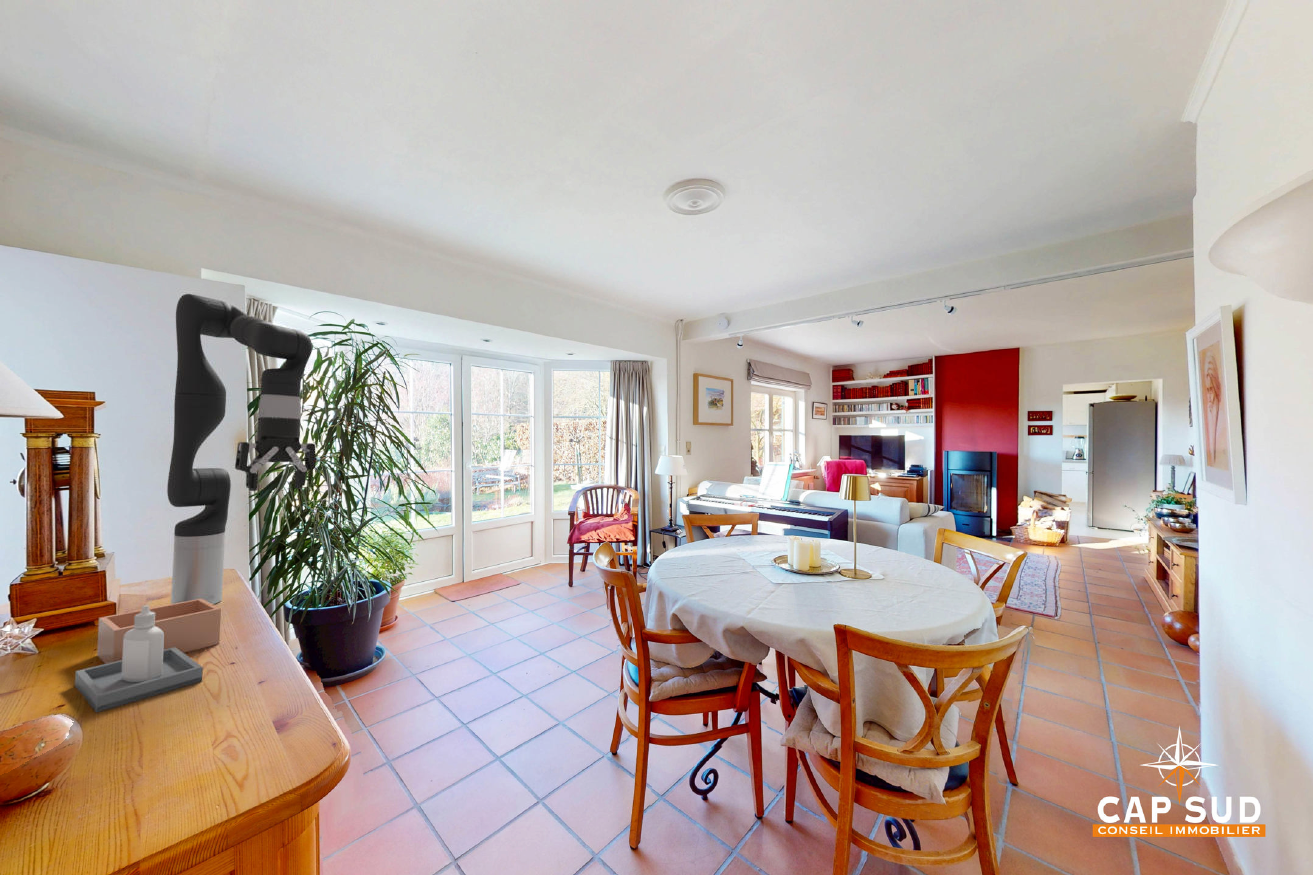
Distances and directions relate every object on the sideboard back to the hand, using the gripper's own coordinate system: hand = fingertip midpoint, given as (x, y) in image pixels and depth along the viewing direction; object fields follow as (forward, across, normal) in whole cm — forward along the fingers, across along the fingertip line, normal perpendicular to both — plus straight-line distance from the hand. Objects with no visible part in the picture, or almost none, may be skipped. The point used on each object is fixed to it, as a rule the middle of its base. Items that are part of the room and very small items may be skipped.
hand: (276, 489), depth 109 cm
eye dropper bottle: (+30, +23, +13) cm, 39 cm away
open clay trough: (+30, +17, -2) cm, 35 cm away
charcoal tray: (+30, +23, +13) cm, 40 cm away
